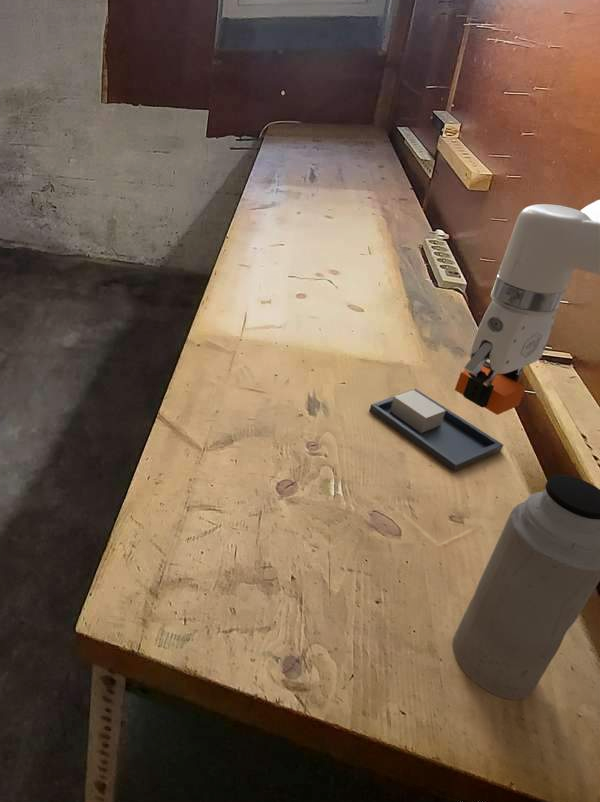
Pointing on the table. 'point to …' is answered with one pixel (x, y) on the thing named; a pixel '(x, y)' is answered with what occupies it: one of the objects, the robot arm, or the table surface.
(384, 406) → the tray
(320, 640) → the table surface
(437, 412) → the grey pad
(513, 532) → the thermos bottle
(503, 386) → the orange pad
